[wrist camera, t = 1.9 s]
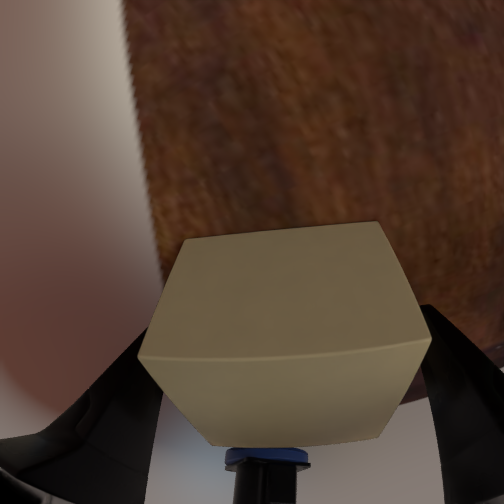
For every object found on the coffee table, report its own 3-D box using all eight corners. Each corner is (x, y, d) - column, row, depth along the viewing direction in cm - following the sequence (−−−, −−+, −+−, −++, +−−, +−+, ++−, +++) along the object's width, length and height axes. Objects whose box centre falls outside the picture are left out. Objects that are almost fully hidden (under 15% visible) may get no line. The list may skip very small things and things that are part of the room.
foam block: (362, 342, 12) (378, 438, 8) (225, 352, 13) (211, 446, 9) (378, 220, 8) (433, 338, 5) (184, 238, 9) (135, 356, 6)
